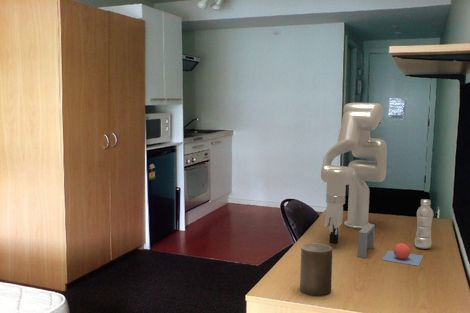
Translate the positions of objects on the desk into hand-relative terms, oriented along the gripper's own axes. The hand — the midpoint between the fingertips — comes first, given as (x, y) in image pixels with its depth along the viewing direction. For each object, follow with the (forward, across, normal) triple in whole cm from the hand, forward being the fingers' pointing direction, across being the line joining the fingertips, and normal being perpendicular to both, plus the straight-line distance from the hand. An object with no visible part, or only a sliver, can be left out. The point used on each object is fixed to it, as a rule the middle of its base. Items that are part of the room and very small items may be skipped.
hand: (333, 243), depth 192 cm
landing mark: (+2, 0, +27) cm, 27 cm away
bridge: (+2, 0, +13) cm, 13 cm away
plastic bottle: (+2, -18, +32) cm, 37 cm away
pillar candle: (+2, +47, +8) cm, 48 cm away
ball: (-2, +1, +27) cm, 27 cm away
